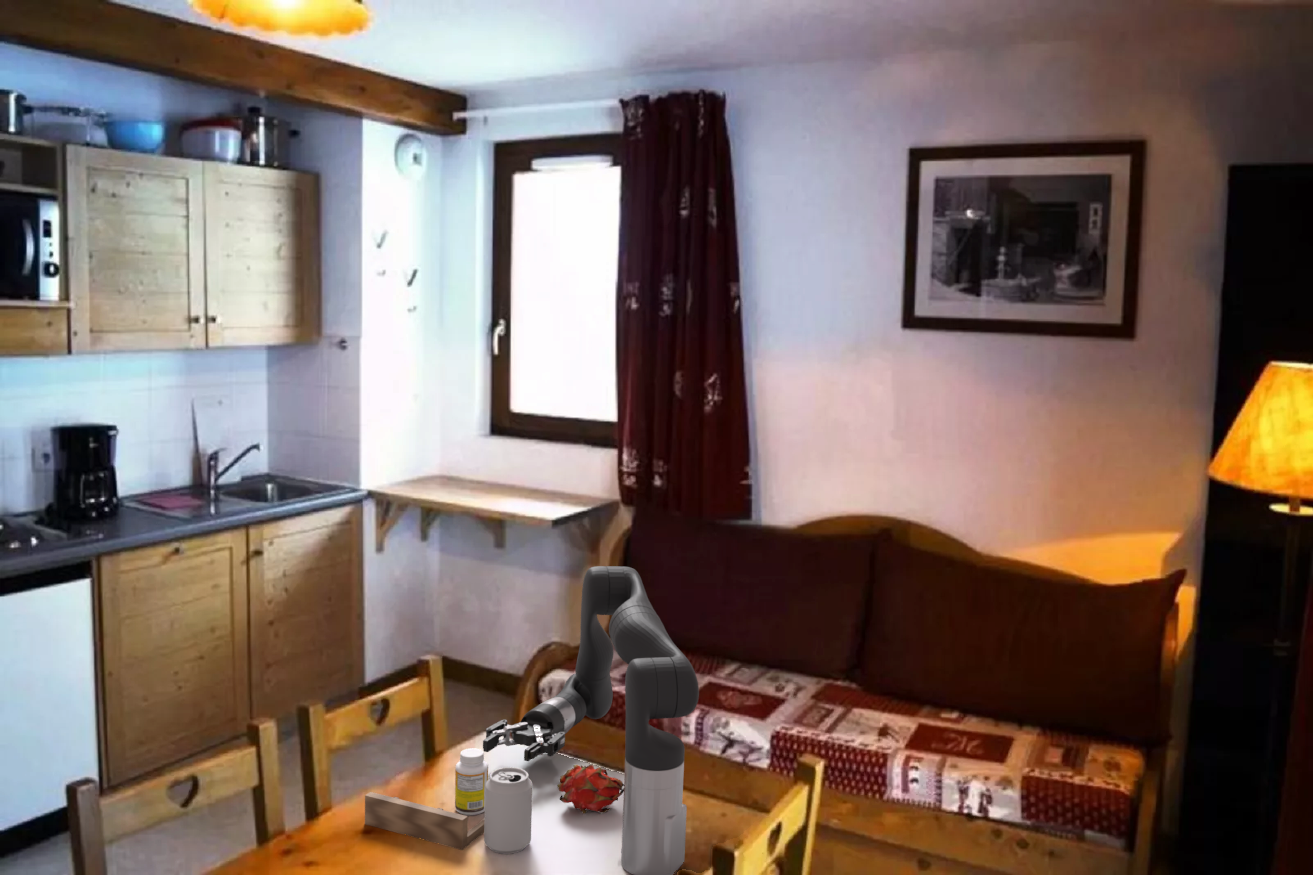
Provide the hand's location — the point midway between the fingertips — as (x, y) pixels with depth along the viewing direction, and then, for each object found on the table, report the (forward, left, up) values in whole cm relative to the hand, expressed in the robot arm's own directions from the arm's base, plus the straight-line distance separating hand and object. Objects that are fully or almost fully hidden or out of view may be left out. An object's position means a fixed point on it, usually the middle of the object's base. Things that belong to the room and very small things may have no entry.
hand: (505, 751), depth 199 cm
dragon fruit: (-18, +1, -6) cm, 19 cm away
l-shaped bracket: (+3, +19, -6) cm, 20 cm away
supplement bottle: (0, +11, -6) cm, 13 cm away
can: (-12, +19, -6) cm, 23 cm away
